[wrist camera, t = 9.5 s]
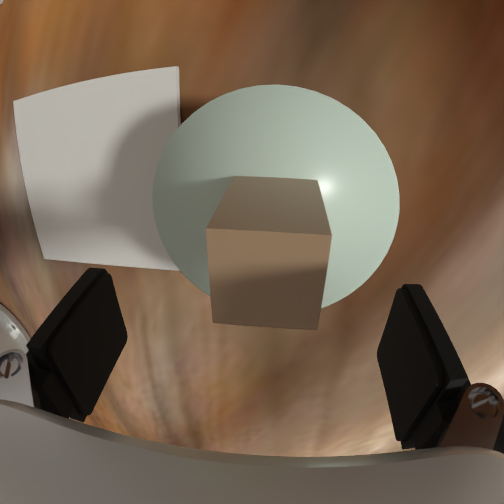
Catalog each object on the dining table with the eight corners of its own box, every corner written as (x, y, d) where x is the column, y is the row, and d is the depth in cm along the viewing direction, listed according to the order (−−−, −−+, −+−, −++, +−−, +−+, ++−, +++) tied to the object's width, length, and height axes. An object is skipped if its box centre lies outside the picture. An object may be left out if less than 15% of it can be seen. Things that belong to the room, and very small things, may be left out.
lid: (370, 309, 20) (392, 396, 14) (172, 296, 21) (134, 376, 15) (408, 99, 13) (480, 116, 7) (151, 89, 15) (71, 101, 9)
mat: (191, 267, 27) (189, 271, 26) (47, 255, 28) (44, 258, 28) (178, 66, 19) (176, 66, 19) (17, 100, 21) (13, 101, 20)
